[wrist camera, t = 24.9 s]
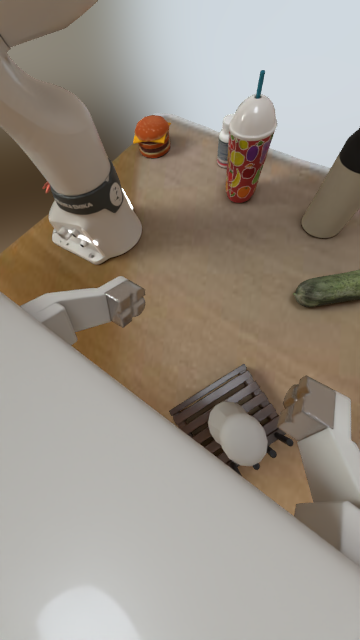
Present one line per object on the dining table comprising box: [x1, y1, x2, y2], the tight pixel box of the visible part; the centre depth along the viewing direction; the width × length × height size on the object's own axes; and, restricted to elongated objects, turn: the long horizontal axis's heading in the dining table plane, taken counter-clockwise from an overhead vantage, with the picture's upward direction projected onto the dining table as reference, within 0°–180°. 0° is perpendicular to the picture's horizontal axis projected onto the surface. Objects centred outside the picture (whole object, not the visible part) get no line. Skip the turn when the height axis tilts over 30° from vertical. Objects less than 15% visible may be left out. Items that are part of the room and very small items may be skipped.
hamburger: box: [133, 115, 171, 158], centre depth 55 cm, size 9×10×7 cm
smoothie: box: [226, 70, 277, 203], centre depth 39 cm, size 8×8×20 cm
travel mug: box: [302, 128, 360, 238], centre depth 35 cm, size 8×8×18 cm
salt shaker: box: [208, 401, 268, 466], centre depth 24 cm, size 6×6×13 cm
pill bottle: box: [217, 114, 234, 168], centre depth 49 cm, size 5×5×9 cm
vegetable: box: [293, 270, 360, 307], centre depth 35 cm, size 14×5×5 cm, turn 98°
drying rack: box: [169, 364, 293, 475], centre depth 29 cm, size 11×14×7 cm
